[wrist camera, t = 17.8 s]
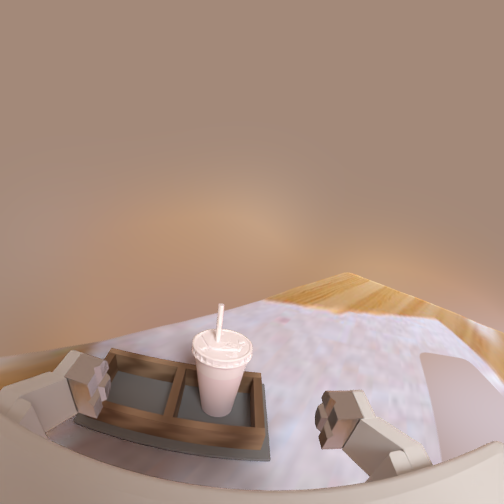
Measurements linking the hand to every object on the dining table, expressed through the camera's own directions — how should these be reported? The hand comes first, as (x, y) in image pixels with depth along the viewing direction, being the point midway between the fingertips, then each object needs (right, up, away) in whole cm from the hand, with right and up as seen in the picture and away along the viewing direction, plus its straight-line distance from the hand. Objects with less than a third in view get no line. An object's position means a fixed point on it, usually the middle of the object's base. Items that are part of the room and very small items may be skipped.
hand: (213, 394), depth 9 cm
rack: (-8, -14, +21) cm, 26 cm away
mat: (-8, -14, +21) cm, 26 cm away
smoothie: (-3, -14, +22) cm, 26 cm away
